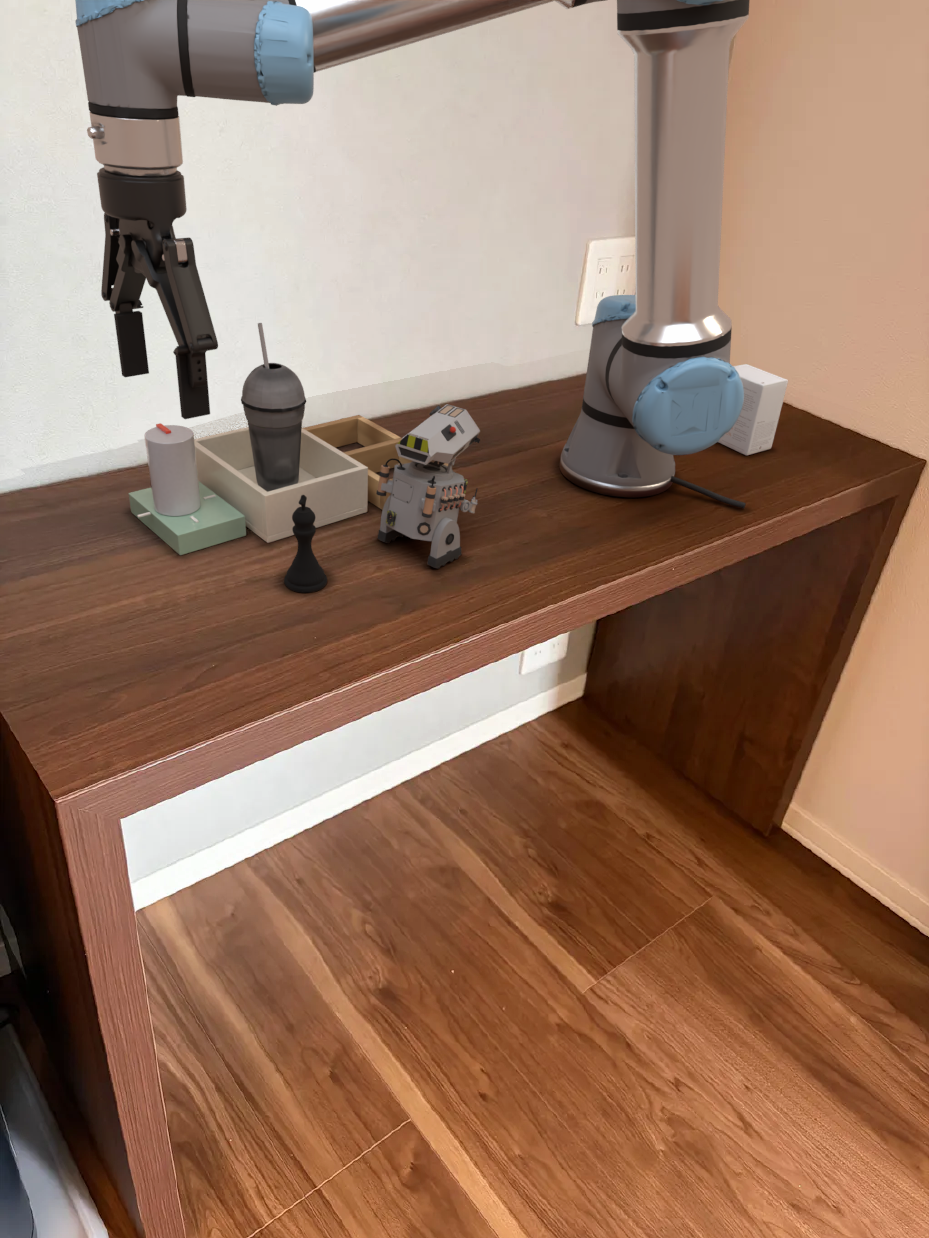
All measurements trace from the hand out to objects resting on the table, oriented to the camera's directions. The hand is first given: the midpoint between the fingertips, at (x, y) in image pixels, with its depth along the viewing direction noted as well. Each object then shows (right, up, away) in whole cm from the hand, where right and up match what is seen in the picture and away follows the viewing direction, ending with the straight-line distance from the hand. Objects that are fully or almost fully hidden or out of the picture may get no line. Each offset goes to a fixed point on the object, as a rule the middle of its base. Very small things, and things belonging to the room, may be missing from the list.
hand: (164, 394), depth 95 cm
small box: (+71, +3, +41) cm, 82 cm away
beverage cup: (+9, -8, +15) cm, 19 cm away
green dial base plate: (0, -12, +9) cm, 15 cm away
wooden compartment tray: (+19, -4, +24) cm, 31 cm away
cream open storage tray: (+9, -9, +16) cm, 20 cm away
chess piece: (+15, -20, 0) cm, 24 cm away
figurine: (+27, -15, +9) cm, 32 cm away
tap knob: (-1, -11, +7) cm, 13 cm away
